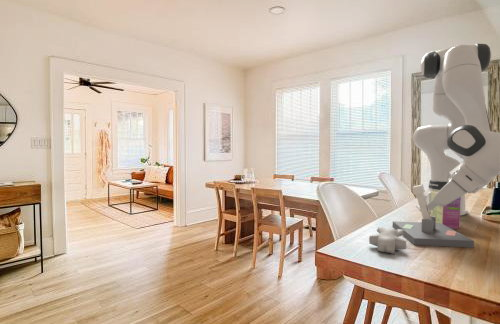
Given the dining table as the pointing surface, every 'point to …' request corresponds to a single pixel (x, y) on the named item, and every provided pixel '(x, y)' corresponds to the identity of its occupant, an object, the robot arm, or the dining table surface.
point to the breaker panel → (432, 234)
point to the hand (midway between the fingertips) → (428, 207)
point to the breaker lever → (422, 202)
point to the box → (447, 213)
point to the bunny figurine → (388, 240)
